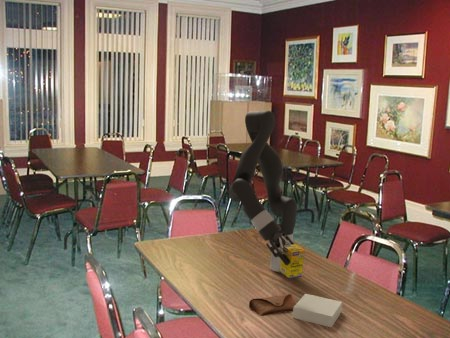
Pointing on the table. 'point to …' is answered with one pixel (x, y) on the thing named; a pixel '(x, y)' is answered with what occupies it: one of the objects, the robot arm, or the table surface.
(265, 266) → the table surface
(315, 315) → the plate
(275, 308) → the sunglasses case
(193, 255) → the table surface
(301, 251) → the supplement box
